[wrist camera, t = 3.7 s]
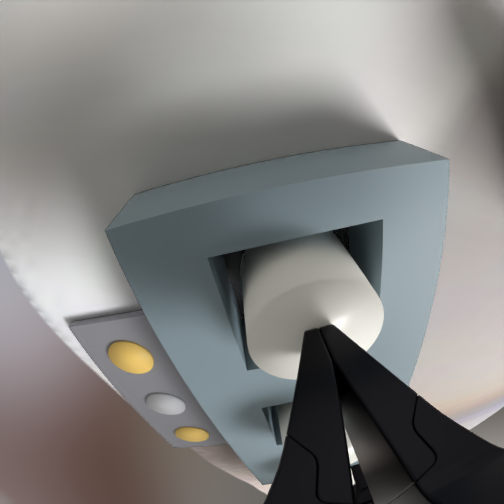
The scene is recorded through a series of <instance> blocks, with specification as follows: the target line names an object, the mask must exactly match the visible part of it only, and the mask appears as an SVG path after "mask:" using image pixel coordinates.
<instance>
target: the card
mask: <svg viewBox="0 0 504 504" xmlns="http://www.w3.org/2000/svg"><path fill="white" fill-rule="evenodd" d="M69 328H70V330H71V331H72V333H73V334H74V336H75V337H76V338H77V340H78V341H79V343H80V344H81V345H82V347H83V348H84V349H85V351H86V352H87V353H88V355H89V356H90V357H91V359H92V360H93V361H94V363H95V364H96V365H97V366H98V368H99V369H100V370H101V371H102V373H103V374H104V375H105V376H106V377H107V379H108V380H109V381H110V382H111V383H112V385H113V386H114V387H115V388H116V389H117V390H118V391H119V393H120V394H121V395H122V396H123V397H124V398H125V399H126V400H127V402H128V403H129V404H130V405H131V406H132V407H133V408H134V409H135V410H136V411H137V412H138V413H139V414H140V415H141V416H142V417H143V418H144V419H145V420H146V421H147V422H148V423H149V424H150V425H151V426H152V427H153V428H154V429H155V430H156V431H157V432H158V433H159V434H160V435H161V436H162V437H163V438H164V439H165V440H166V441H168V442H169V443H170V444H171V445H172V446H173V447H174V448H175V447H176V448H177V447H198V446H212V445H223V444H228V442H227V441H226V440H225V438H224V437H223V436H222V434H221V433H220V432H219V430H218V429H217V428H216V426H215V425H214V424H213V422H212V421H211V419H210V418H209V417H208V415H207V414H206V412H205V411H204V410H203V408H202V407H201V405H200V404H199V402H198V401H197V399H196V398H195V396H194V395H193V394H192V392H191V390H190V389H189V387H188V386H187V384H186V383H185V381H184V380H183V378H182V377H181V375H180V373H179V372H178V370H177V369H176V367H175V366H174V364H173V362H172V361H171V359H170V357H169V356H168V354H167V352H166V351H165V349H164V347H163V346H162V344H161V342H160V340H159V339H158V337H157V335H156V333H155V332H154V330H153V328H152V326H151V325H150V323H149V321H148V319H147V317H146V315H145V313H144V312H143V310H140V311H134V312H128V313H122V314H117V315H111V316H105V317H99V318H93V319H86V320H80V321H74V322H71V323H70V325H69Z"/></svg>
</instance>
